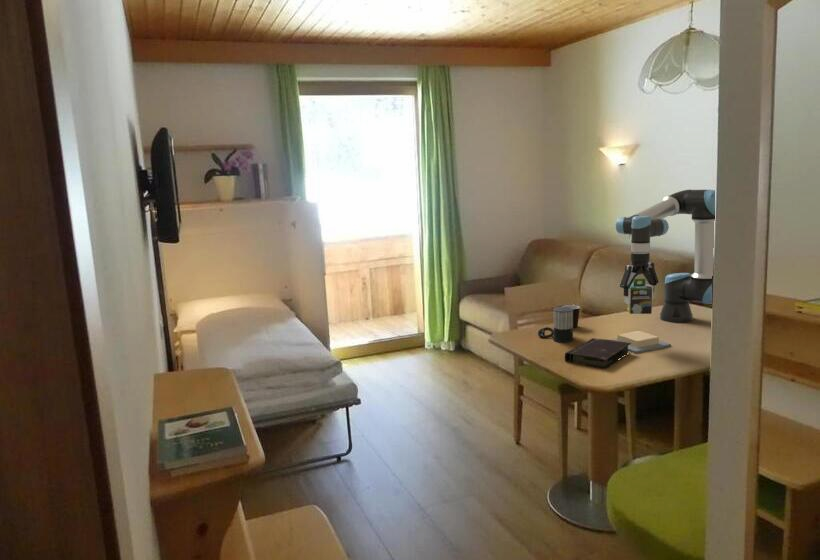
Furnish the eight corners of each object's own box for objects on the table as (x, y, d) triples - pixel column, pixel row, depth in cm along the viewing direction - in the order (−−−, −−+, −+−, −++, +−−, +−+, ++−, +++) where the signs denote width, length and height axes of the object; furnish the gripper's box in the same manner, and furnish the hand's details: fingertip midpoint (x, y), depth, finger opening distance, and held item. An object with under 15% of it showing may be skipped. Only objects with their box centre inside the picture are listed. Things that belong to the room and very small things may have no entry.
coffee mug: (580, 329, 295) (580, 309, 293) (562, 329, 297) (562, 309, 295) (578, 323, 306) (578, 303, 304) (561, 322, 308) (561, 303, 306)
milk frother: (574, 343, 273) (574, 311, 270) (538, 343, 276) (538, 311, 273) (571, 334, 287) (571, 303, 284) (537, 334, 290) (537, 304, 287)
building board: (640, 336, 279) (640, 327, 278) (670, 346, 263) (671, 337, 262) (605, 342, 271) (605, 334, 271) (635, 353, 255) (635, 344, 254)
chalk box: (647, 309, 268) (648, 276, 265) (652, 314, 259) (653, 280, 256) (625, 309, 269) (626, 276, 267) (629, 314, 260) (630, 280, 258)
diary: (564, 363, 249) (563, 351, 249) (591, 348, 268) (591, 337, 267) (607, 371, 237) (607, 358, 236) (632, 354, 255) (633, 343, 254)
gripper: (655, 248, 267) (653, 296, 271) (611, 254, 258) (610, 303, 262) (668, 250, 261) (666, 299, 265) (624, 256, 251) (623, 306, 255)
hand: (638, 301), depth 263 cm, fingers closed on chalk box, 12 cm apart
